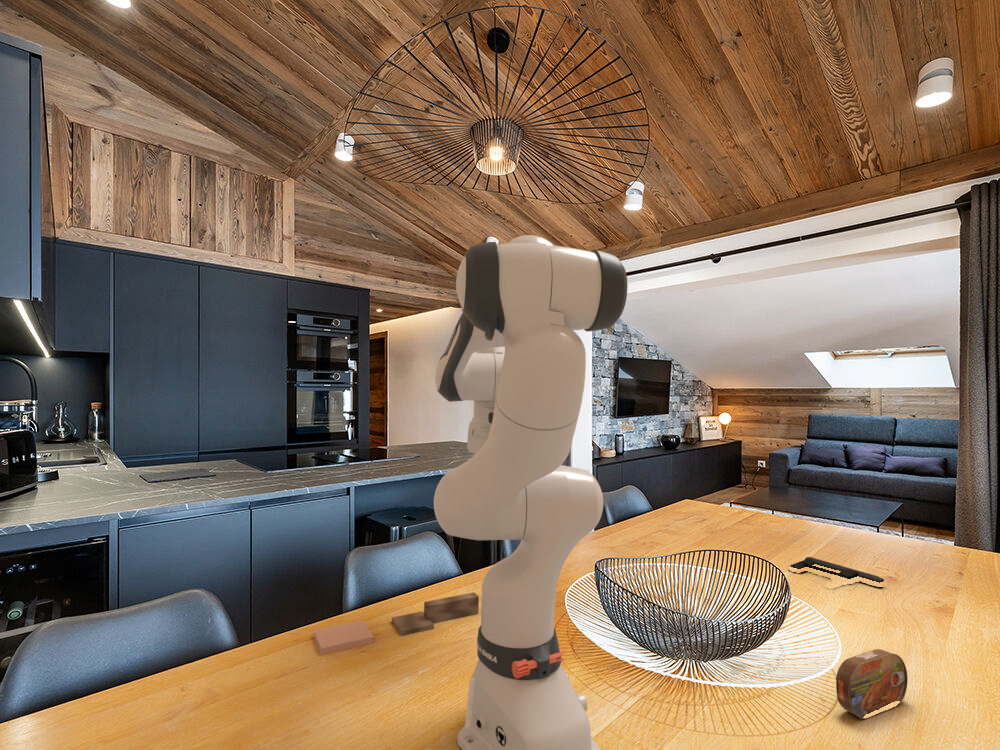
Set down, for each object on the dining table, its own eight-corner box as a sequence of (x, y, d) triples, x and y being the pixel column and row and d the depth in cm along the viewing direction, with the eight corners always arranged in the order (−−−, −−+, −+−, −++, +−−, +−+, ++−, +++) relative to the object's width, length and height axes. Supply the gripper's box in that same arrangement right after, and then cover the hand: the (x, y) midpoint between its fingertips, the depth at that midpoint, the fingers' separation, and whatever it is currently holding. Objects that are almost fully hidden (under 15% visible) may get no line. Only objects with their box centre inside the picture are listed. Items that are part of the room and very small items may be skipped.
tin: (851, 725, 78) (851, 669, 78) (831, 713, 81) (831, 659, 81) (910, 702, 84) (909, 651, 84) (889, 692, 87) (888, 642, 87)
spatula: (469, 606, 118) (469, 588, 118) (482, 618, 112) (483, 600, 112) (391, 622, 109) (392, 603, 110) (401, 636, 103) (401, 616, 103)
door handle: (856, 590, 127) (887, 575, 135) (778, 565, 144) (809, 553, 152) (856, 603, 127) (887, 588, 135) (778, 577, 144) (809, 564, 152)
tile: (374, 636, 100) (321, 648, 95) (373, 645, 100) (321, 657, 95) (363, 620, 107) (313, 630, 102) (363, 628, 107) (313, 638, 102)
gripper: (461, 412, 119) (460, 471, 119) (502, 417, 101) (501, 487, 101) (485, 412, 122) (484, 470, 122) (529, 417, 104) (528, 485, 104)
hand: (492, 478), depth 111 cm, fingers open, 8 cm apart
